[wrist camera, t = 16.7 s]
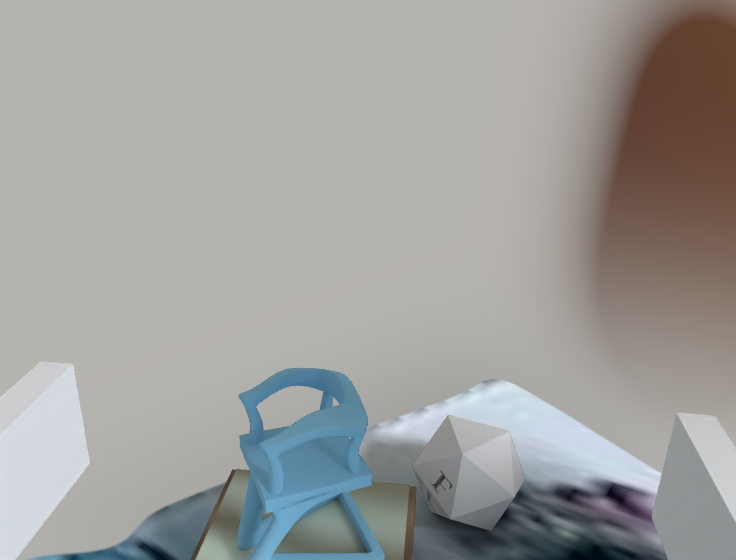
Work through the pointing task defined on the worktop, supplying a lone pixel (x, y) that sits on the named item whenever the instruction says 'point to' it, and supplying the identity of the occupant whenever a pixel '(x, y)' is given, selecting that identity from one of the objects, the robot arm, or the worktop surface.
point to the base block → (317, 523)
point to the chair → (304, 465)
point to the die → (469, 472)
